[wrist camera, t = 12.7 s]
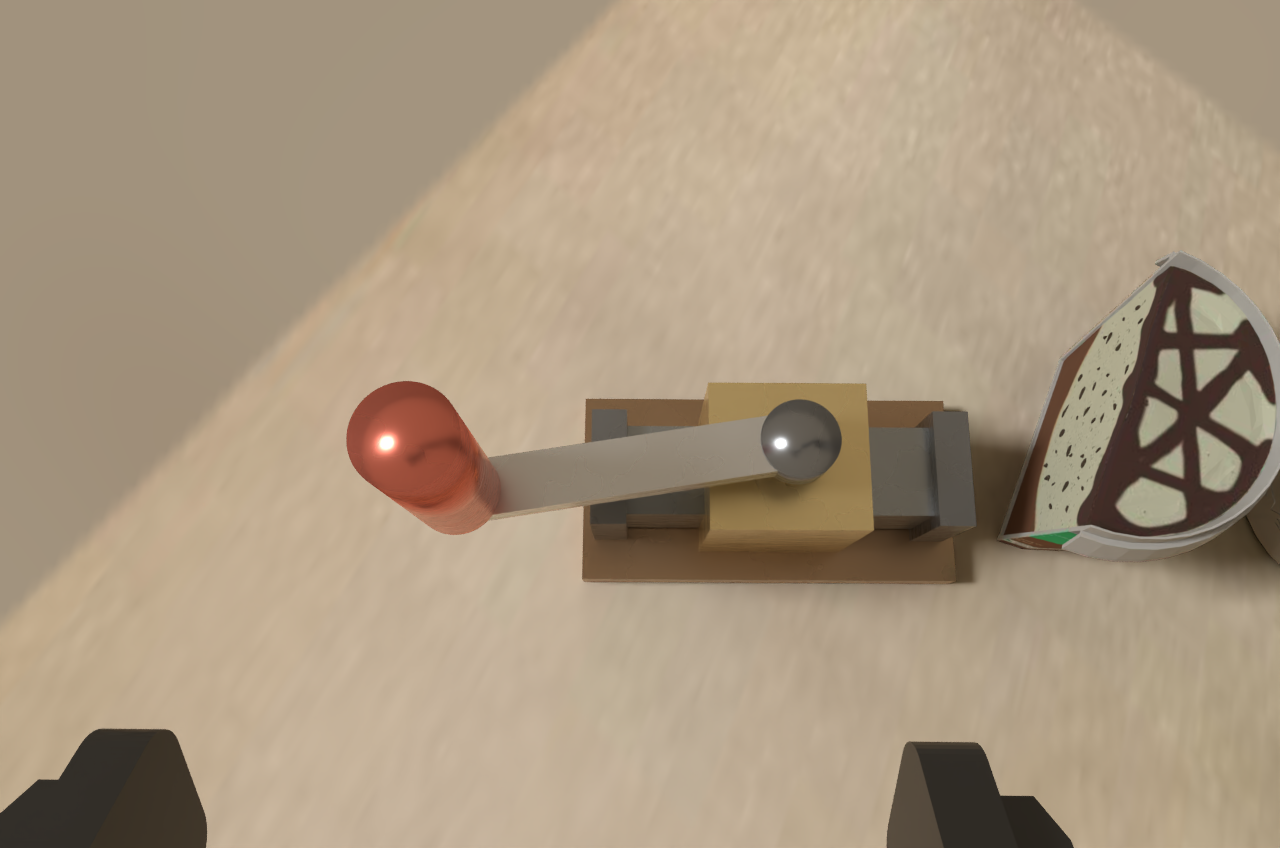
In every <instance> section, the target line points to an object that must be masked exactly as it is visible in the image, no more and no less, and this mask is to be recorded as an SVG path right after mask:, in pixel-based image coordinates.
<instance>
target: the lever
mask: <svg viewBox="0 0 1280 848" xmlns="http://www.w3.org/2000/svg"><path fill="white" fill-rule="evenodd" d="M841 445H842V436H841V430H840V427H839V425H838V422H837V421H836V419H835V417H834V416H833V415H832V414H831V413H830V412H829V411H828V410H827V409H826V408H825V407H823V406H822V405H820V404H818V403H816V402H813V401H810V400H803V399H797V400H790V401H787V402H784V403H782V404H780V405H778V406H777V407H775V408H774V409H773V410H772V411H771V412H770V413H769V415H768V416H762V417H755V418H748V419H742V420H735V421H728V422H722V423H715V424H709V425H702V426H695V427H689V428H682V429H675V430H669V431H662V432H655V433H649V434H642V435H635V436H629V437H622V438H616V439H609V440H602V441H596V442H589V443H582V444H576V445H569V446H562V447H556V448H549V449H542V450H536V451H529V452H523V453H516V454H509V455H503V456H496V457H489V458H488V457H487V456H486V454H485V453H484V451H483V450H482V449H481V447H480V446H479V444H478V443H477V441H476V440H475V438H474V437H473V435H472V434H471V432H470V431H469V429H468V428H467V426H466V425H465V423H464V422H463V420H462V419H461V418H460V416H459V415H458V413H457V412H456V410H455V409H454V407H453V406H452V404H451V403H450V401H449V400H448V399H447V398H446V397H445V396H444V395H443V394H442V393H440V392H439V391H438V390H436V389H434V388H433V387H430V386H428V385H426V384H422V383H418V382H412V381H403V382H395V383H391V384H388V385H385V386H382V387H380V388H378V389H376V390H375V391H373V392H372V393H370V394H369V395H368V396H367V397H366V398H364V400H363V401H362V402H361V403H360V404H359V405H358V407H357V408H356V409H355V411H354V413H353V415H352V417H351V419H350V422H349V425H348V429H347V450H348V454H349V457H350V460H351V462H352V464H353V466H354V467H355V469H356V470H357V472H358V473H359V474H360V475H361V476H362V477H363V478H364V479H365V480H366V481H368V482H369V483H370V484H372V485H373V486H375V487H376V488H377V489H379V490H380V491H381V492H383V493H384V494H386V495H387V496H388V497H390V498H391V499H392V500H394V501H395V502H397V503H398V504H399V505H401V506H402V507H403V508H405V509H406V510H408V511H409V512H410V513H412V514H413V515H414V516H416V517H417V518H418V519H420V520H421V521H423V522H424V523H425V524H427V525H428V526H430V527H431V528H433V529H434V530H436V531H438V532H441V533H444V534H450V535H459V534H465V533H469V532H472V531H474V530H476V529H478V528H479V527H481V526H482V525H484V524H485V523H486V522H487V521H489V520H496V519H502V518H509V517H515V516H522V515H528V514H535V513H541V512H548V511H554V510H561V509H567V508H574V507H580V506H587V505H593V504H600V503H607V502H613V501H620V500H626V499H633V498H639V497H646V496H652V495H659V494H665V493H672V492H678V491H685V490H691V489H698V488H704V487H711V486H717V485H724V484H730V483H737V482H744V481H750V480H757V479H763V478H770V477H775V478H776V479H778V480H780V481H782V482H785V483H789V484H798V485H799V484H806V483H810V482H813V481H815V480H817V479H818V478H820V477H821V476H822V475H823V474H824V473H826V471H827V470H828V469H829V468H830V467H831V466H832V465H833V464H834V462H835V461H836V459H837V458H838V456H839V453H840V450H841Z"/></svg>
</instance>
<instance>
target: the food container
mask: <svg viewBox="0 0 1280 848" xmlns="http://www.w3.org/2000/svg"><path fill="white" fill-rule="evenodd" d="M1155 264H1156V265H1158V266H1160V268H1159V269H1158V270H1157V271H1155V272H1154V273H1153V274H1152V275H1151V276H1150V277H1149V278H1148V279H1147V280H1145V281H1144V282H1143V283H1142V284H1141V285H1140V286H1139V287H1138V288H1137V289H1136V290H1134V291H1133V292H1132V293H1131V294H1130V295H1129V296H1128V297H1127V298H1126V299H1124V300H1123V301H1122V302H1121V303H1120V304H1119V305H1118V306H1117V307H1116V308H1115V309H1113V310H1112V311H1111V312H1110V313H1109V314H1108V315H1107V316H1106V317H1105V318H1103V319H1102V320H1101V321H1100V322H1099V323H1098V324H1097V325H1096V326H1095V327H1093V328H1092V329H1091V330H1090V331H1089V332H1088V333H1087V334H1086V335H1085V336H1084V337H1082V338H1081V339H1080V340H1079V341H1078V342H1077V343H1076V344H1075V345H1074V346H1072V347H1071V348H1070V349H1069V350H1068V351H1067V352H1066V353H1065V354H1064V355H1063V356H1061V357H1060V360H1059V363H1058V365H1057V368H1056V371H1055V374H1054V377H1053V380H1052V383H1051V386H1050V388H1049V391H1048V394H1047V397H1046V400H1045V403H1044V406H1043V409H1042V412H1041V414H1040V417H1039V420H1038V423H1037V426H1036V429H1035V432H1034V435H1033V438H1032V440H1031V443H1030V446H1029V449H1028V452H1027V455H1026V458H1025V461H1024V463H1023V466H1022V469H1021V472H1020V475H1019V478H1018V481H1017V484H1016V487H1015V489H1014V492H1013V495H1012V498H1011V501H1010V504H1009V507H1008V510H1007V513H1006V515H1005V518H1004V521H1003V524H1002V527H1001V530H1000V533H999V536H998V538H997V541H1000V542H1003V543H1006V544H1009V545H1012V546H1015V547H1018V548H1021V549H1037V550H1067V551H1070V552H1073V553H1076V554H1079V555H1082V556H1086V557H1090V558H1096V559H1102V560H1108V561H1113V562H1144V561H1151V560H1158V559H1166V558H1169V557H1172V556H1176V555H1179V554H1182V553H1185V552H1188V551H1191V550H1193V549H1195V548H1197V547H1199V546H1201V545H1203V544H1205V543H1207V542H1209V541H1210V540H1212V539H1214V538H1215V537H1217V536H1218V535H1220V534H1221V533H1222V532H1224V531H1225V530H1226V529H1228V528H1229V527H1231V526H1232V525H1233V524H1234V523H1236V522H1237V521H1238V520H1240V519H1241V518H1242V517H1244V516H1245V515H1246V514H1247V513H1249V512H1250V511H1251V510H1252V508H1253V507H1254V506H1255V505H1256V504H1257V503H1258V502H1259V501H1260V500H1261V498H1262V497H1263V496H1264V495H1265V494H1266V492H1267V490H1268V489H1269V487H1270V485H1271V484H1272V482H1273V481H1274V479H1275V477H1276V476H1277V474H1278V471H1279V469H1280V343H1279V341H1278V339H1277V337H1276V335H1275V333H1274V331H1273V329H1272V327H1271V326H1270V324H1269V323H1268V321H1267V320H1266V318H1265V317H1264V316H1263V314H1262V313H1261V311H1260V310H1259V308H1258V307H1257V306H1256V305H1255V304H1254V303H1253V302H1252V300H1251V299H1250V298H1249V297H1248V296H1247V295H1246V294H1245V293H1244V292H1243V291H1242V289H1240V288H1239V287H1238V286H1237V285H1236V284H1234V283H1233V282H1232V281H1231V280H1230V279H1228V278H1227V277H1226V276H1225V275H1224V274H1222V273H1221V272H1219V271H1218V270H1216V269H1215V268H1213V267H1211V266H1210V265H1208V264H1207V263H1205V262H1204V261H1202V260H1200V259H1198V258H1196V257H1194V256H1192V255H1189V254H1187V253H1185V252H1183V251H1181V250H1180V251H1179V252H1177V253H1175V252H1172V253H1170V254H1168V255H1166V256H1164V257H1162V258H1160V259H1158V260H1157V261H1156V263H1155Z"/></svg>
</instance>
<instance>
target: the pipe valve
mask: <svg viewBox="0 0 1280 848" xmlns="http://www.w3.org/2000/svg"><path fill="white" fill-rule="evenodd" d="M797 399H803V400H810V401H813V402H816V403H818V404H820V405H822V406H823V407H825V408H826V409H827V410H828V411H829V412H830V413H831V414H832V415H833V416H834V417H835V419H836V421H837V422H838V425H839V427H840V430H841V436H842V445H841V450H840V453H839V456H838V458H837V459H836V461H835V462H834V464H833V465H832V466H831V467H830V468H829V469H828V470H827V471H826V473H824V474H823V475H822V476H821V477H820V478H818V479H817V480H815V481H813V482H810V483H806V484H799V485H798V484H789V483H785V482H782V481H780V480H778V479H776V478H775V477H770V478H763V479H757V480H750V481H744V482H737V483H730V484H724V485H717V486H711V487H704V488H698V489H691V490H685V491H678V492H672V493H665V494H659V495H652V496H646V497H639V498H633V499H626V500H620V501H613V502H607V503H600V504H593V505H587V506H584V519H583V569H582V579H583V581H584V582H731V583H898V584H949V583H952V582H955V581H956V571H955V557H954V544H953V536H955V535H958V534H960V533H962V532H964V531H967V530H969V529H971V528H973V527H976V526H977V525H976V512H975V499H974V487H973V474H972V462H971V449H970V437H969V424H968V412H951V411H944V408H943V401H867V390H866V384H829V383H708V386H707V390H706V394H705V398H704V400H676V399H586V419H585V443H589V442H596V441H602V440H609V439H616V438H622V437H629V436H635V435H642V434H649V433H655V432H662V431H669V430H675V429H682V428H689V427H695V426H702V425H709V424H715V423H722V422H728V421H735V420H742V419H748V418H755V417H762V416H768V415H769V413H770V412H771V411H772V410H773V409H774V408H775V407H777V406H778V405H780V404H782V403H784V402H787V401H790V400H797Z"/></svg>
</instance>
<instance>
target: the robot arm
mask: <svg viewBox="0 0 1280 848" xmlns="http://www.w3.org/2000/svg"><path fill="white" fill-rule="evenodd" d="M1246 515H1247V518H1248V520H1249V522H1250V524H1251V526H1252V528H1253V530H1254V533H1255V535H1256V537H1257V538H1258V540H1259V541H1260V542H1261V544H1262V545H1263V546H1264V548H1265V549H1266V551H1267V552H1268V553H1269V555H1270V556H1271V557H1272V558H1273V559H1274V560H1275V561H1276V562H1277V563H1278V564H1279V565H1280V469H1279V471H1278V474H1277V476H1276V477H1275V479H1274V481H1273V482H1272V484H1271V485H1270V487H1269V489H1268V490H1267V492H1266V494H1265V495H1264V496H1263V497H1262V498H1261V500H1260V501H1259V502H1258V503H1257V504H1256V505H1255V506H1254V507H1253V508H1252V510H1251V511H1250V512H1249V513H1247V514H1246ZM206 842H207V823H206V817H205V813H204V810H203V807H202V805H201V802H200V799H199V797H198V794H197V791H196V788H195V786H194V783H193V780H192V777H191V775H190V772H189V769H188V767H187V764H186V761H185V758H184V756H183V753H182V750H181V747H180V745H179V742H178V740H177V738H176V736H175V735H174V733H173V732H171V731H170V730H166V729H98V730H95V731H93V732H92V733H91V734H89V735H88V736H87V737H86V738H85V739H84V741H83V742H82V743H81V745H80V746H79V748H78V749H77V751H76V753H75V754H74V756H73V757H72V759H71V761H70V762H69V764H68V765H67V767H66V769H65V770H64V772H63V773H62V775H61V777H60V778H59V780H38V781H36V782H35V783H34V784H33V785H32V786H31V787H30V788H28V789H27V790H26V791H25V792H24V793H23V794H22V795H21V796H19V797H18V798H17V799H16V800H15V801H14V802H13V803H12V804H10V805H9V806H8V807H7V808H6V809H5V810H4V811H2V812H1V813H0V848H206ZM887 848H1074V847H1073V845H1072V842H1071V840H1070V839H1069V838H1068V836H1067V835H1066V834H1065V833H1064V832H1063V830H1062V829H1061V828H1060V827H1059V826H1058V825H1057V823H1056V822H1055V821H1054V820H1053V819H1052V817H1051V816H1050V815H1049V814H1048V813H1047V812H1046V810H1045V809H1044V808H1043V807H1042V806H1041V805H1040V803H1039V802H1038V801H1037V800H1036V799H1035V797H1034V796H1000V794H999V791H998V788H997V785H996V782H995V780H994V777H993V774H992V771H991V768H990V765H989V762H988V759H987V757H986V754H985V752H984V750H983V749H982V747H981V746H980V745H979V744H978V743H973V742H907V743H906V745H905V747H904V750H903V754H902V759H901V764H900V769H899V774H898V779H897V784H896V789H895V794H894V799H893V804H892V809H891V814H890V819H889V824H888V830H887Z"/></svg>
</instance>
